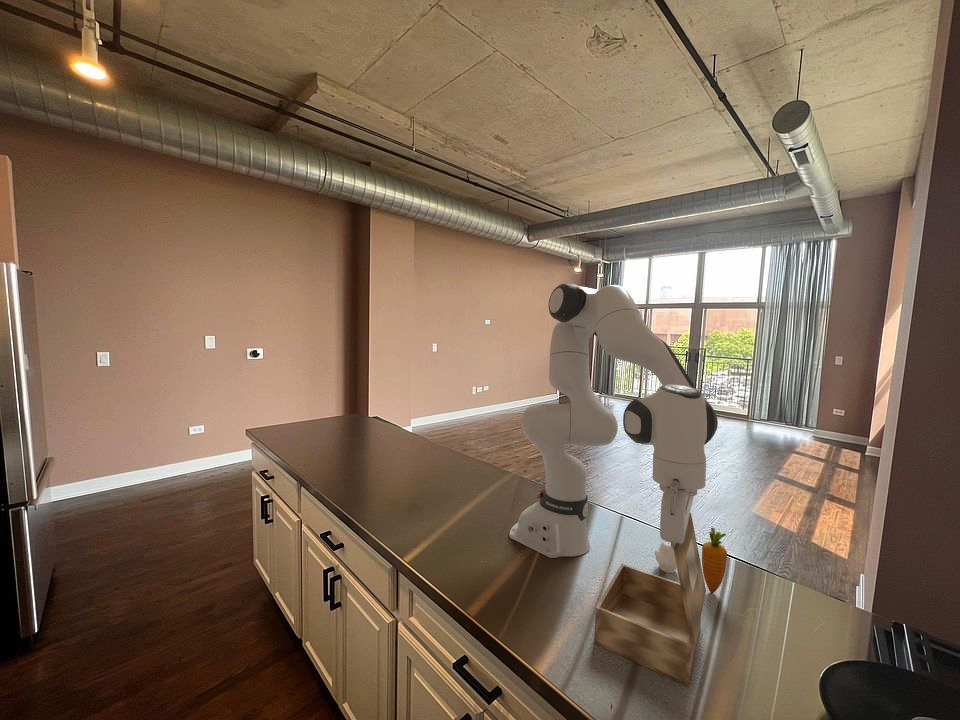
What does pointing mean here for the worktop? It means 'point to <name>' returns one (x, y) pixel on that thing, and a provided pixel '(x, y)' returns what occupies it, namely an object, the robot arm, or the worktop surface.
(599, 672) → the worktop surface
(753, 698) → the worktop surface
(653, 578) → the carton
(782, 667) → the worktop surface
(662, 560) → the white rounded figure
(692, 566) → the lid
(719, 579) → the carrot
